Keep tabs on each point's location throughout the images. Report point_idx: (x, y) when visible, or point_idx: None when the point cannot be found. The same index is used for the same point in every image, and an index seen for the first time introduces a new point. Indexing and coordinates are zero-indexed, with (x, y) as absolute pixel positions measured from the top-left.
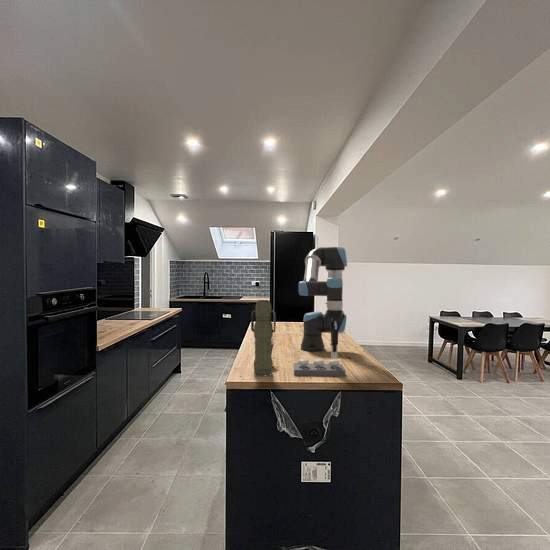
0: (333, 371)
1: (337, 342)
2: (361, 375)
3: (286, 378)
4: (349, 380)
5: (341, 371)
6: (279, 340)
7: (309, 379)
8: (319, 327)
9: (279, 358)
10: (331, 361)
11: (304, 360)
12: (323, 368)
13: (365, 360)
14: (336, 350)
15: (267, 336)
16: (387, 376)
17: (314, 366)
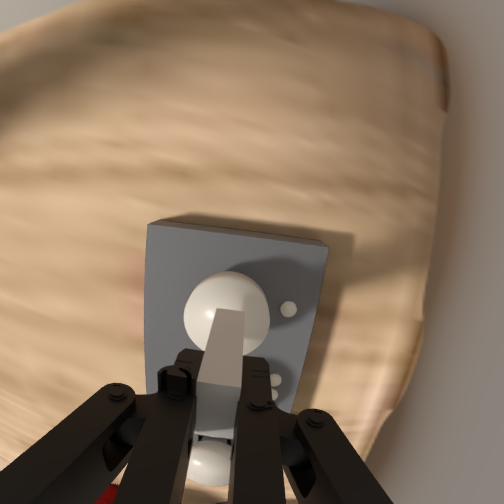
0: (312, 321)
1: (338, 433)
2: (313, 132)
3: None
4: (400, 241)
5: (322, 272)
6: None
7: (343, 418)
8: None
9: (29, 435)
10: (252, 347)
11: (218, 469)
12: (272, 375)
13: (14, 54)
14: (243, 356)
15: None
16: (335, 8)
17: None
